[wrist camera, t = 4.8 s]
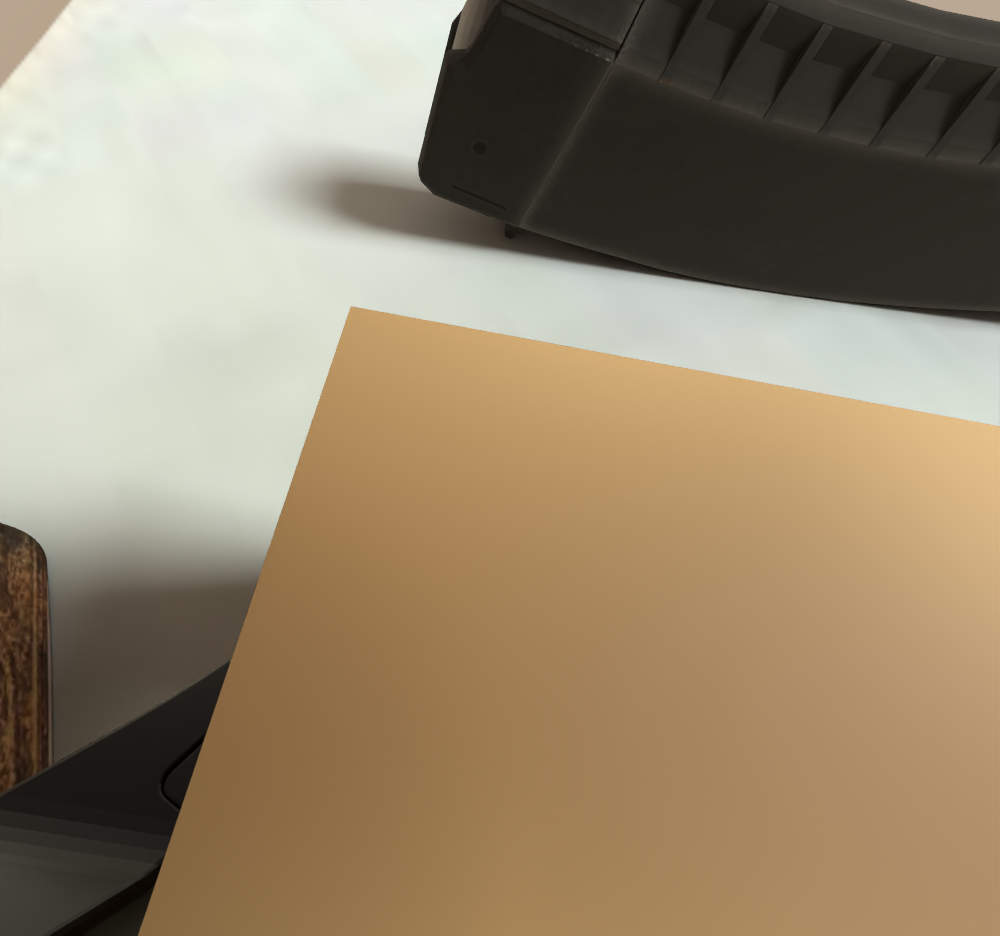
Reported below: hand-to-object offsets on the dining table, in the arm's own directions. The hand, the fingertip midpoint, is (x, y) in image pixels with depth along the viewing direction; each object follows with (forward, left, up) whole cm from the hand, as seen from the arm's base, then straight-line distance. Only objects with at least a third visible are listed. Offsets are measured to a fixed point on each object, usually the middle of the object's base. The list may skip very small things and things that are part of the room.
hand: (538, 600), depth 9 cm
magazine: (+17, +9, -7) cm, 21 cm away
